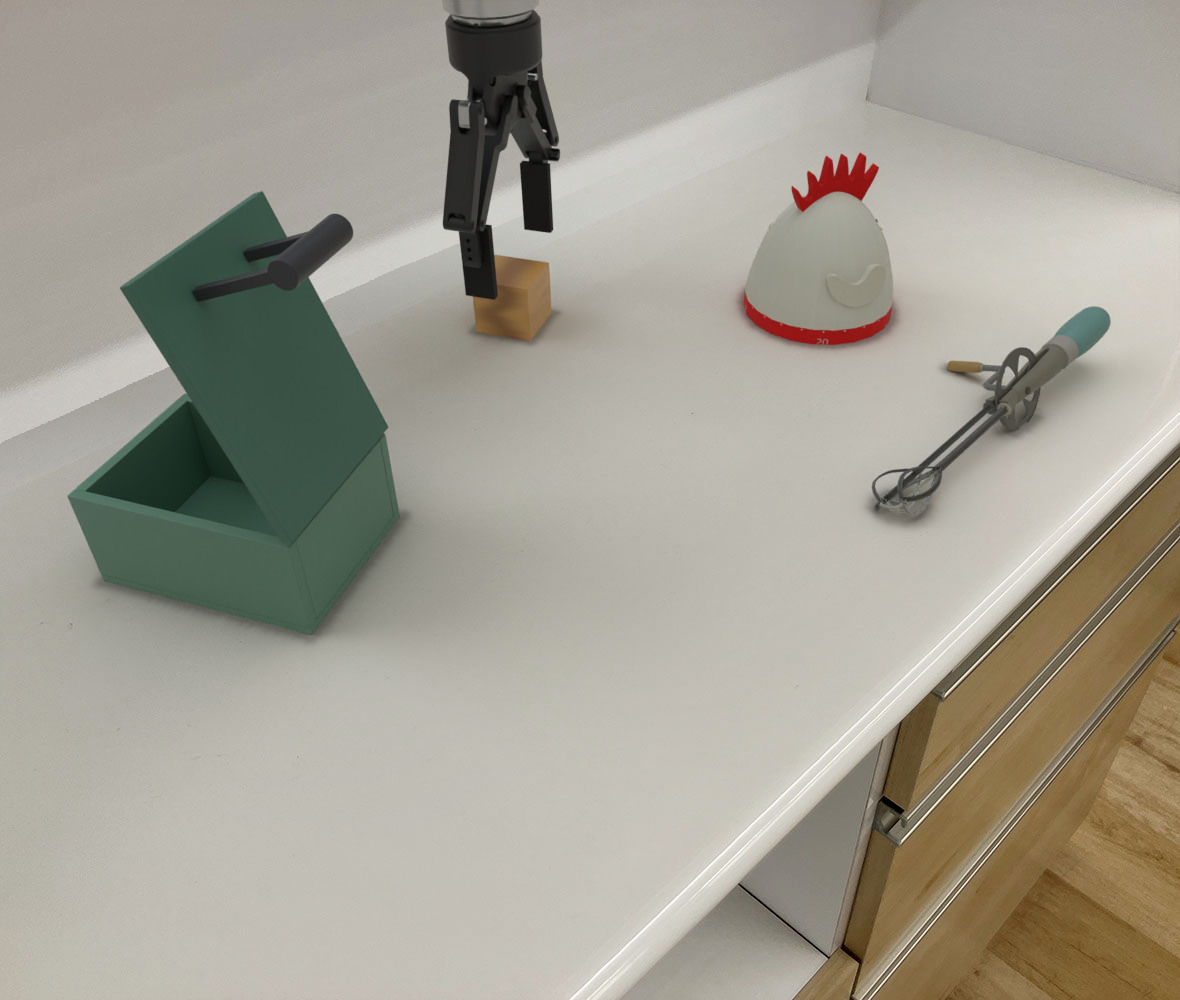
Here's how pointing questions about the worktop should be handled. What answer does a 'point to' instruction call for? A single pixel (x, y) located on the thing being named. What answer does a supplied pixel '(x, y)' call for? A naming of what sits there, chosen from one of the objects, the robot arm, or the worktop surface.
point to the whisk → (1003, 398)
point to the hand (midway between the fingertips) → (511, 261)
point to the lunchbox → (226, 527)
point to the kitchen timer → (824, 263)
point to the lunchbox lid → (263, 356)
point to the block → (516, 299)
